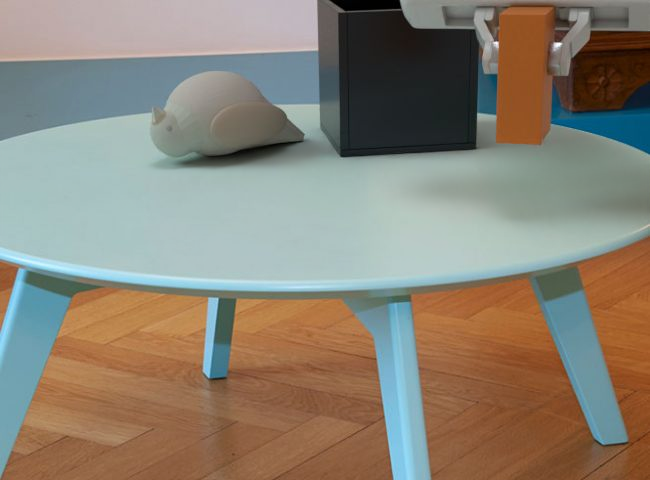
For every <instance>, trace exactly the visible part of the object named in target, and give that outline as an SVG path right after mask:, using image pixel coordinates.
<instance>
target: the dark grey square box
mask: <svg viewBox="0 0 650 480" xmlns="http://www.w3.org/2000/svg"><path fill="white" fill-rule="evenodd" d="M316 9H317V13H316V14H317V48H318V49H317V50H318V51H317V52H318V55H317V56H318V57H317V58H318V94H319V95H318V96H319V128H320V129H321V131H322V132H323V134H324V135H325V136H326V137H327V140H329V142H330V143H331V145H332V147H333V148H334V149H335V151H336V152H337V153H338V155H339V156H340V157H342V158H343V157H359V156H361V157H362V156H375V155H376V156H377V155H378V156H379V155H390V154H391V155H393V154H396V155H397V154H410V153H411V154H412V153H428V152H446V151H463V150H476V149H477V139H478V138H477V137H478V136H477V135H478V133H477V132H478V105H479V104H478V103H479V102H478V99H479V70H480V69H479V68H480V67H479V65H480V43H479V41H478V39H477V35H476V30H475V29H421V28H414V27H412V26H411V24H410V23H409V22H408V20H407V19H406V18H405V16H404V13H403V11H402V7H401V3H400V0H316Z"/></svg>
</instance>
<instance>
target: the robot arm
mask: <svg viewBox="0 0 650 480" xmlns="http://www.w3.org/2000/svg"><path fill="white" fill-rule="evenodd" d="M400 3H401V7H402V11H403V13H404V16H405V18H406V19H407V20H408V22H409V23H410V24H411V26H412V27H414V28H421V29H475V30H476V35H477V39H478V41H479V46H480V47H481V49H482V50H483V52H482V58H481V65H482V70H483V74H484V75H498V43H499V41H495V38H496V37H497V33H498V30H499V14H501V13H502V12H503V11H505V10H506V9H508V8H509V7H556V16H555V31H568V32H567V33H566V34H565V36H564V37H563V38H562V39H561V41H560V42H559V41H558V42H557V41H556V42H555V41H554V42H550V44H549V54H548V57H547V69H548V75H553V77H554V76H557V77H563V76H564V77H568V76H569V74H570V67H571V60H572V58H574V57H575V56H576V55H577V54H578V53H579V52H580V51H581V50H582V48H583V47H584V46H585V45H586V44H587V43H588V42H589V41H590V37H591V31H598V32H599V31H601V32H602V31H607V32H609V31H611V32H650V0H400Z"/></svg>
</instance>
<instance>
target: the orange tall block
mask: <svg viewBox="0 0 650 480" xmlns="http://www.w3.org/2000/svg"><path fill="white" fill-rule="evenodd" d="M555 16H556V7H509V8H508V9H506V10H505V11H503V12H502V13H501V14H499V29H498V42H499V43H498V74H497V83H496V85H497V86H496V114H495V115H496V117H495V121H496V123H495V144H504V145H505V144H506V145H507V144H508V145H531V146H532V145H533V146H541V145H542V143H543V141H544V140H545V139H546V137H547V135H548V134H549V132H550V131H551V126H552V125H551V123H552V101H553V80H554V76H553V75H548V69H547V57H548V54H549V44H550V42H555V38H556V37H555V35H556V30H555Z"/></svg>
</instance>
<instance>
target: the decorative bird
mask: <svg viewBox="0 0 650 480" xmlns="http://www.w3.org/2000/svg"><path fill="white" fill-rule="evenodd" d="M149 135H150V139H151V141H152V143H153V145H154V146H155V148H156V149H157V150H158V151H159V152H161V153H162V154H163V155H166V156H168V157H172V158H182V157H185V156H187V155H188V154H191V153H195V154H199V155H202V156H209V157H210V156H212V157H213V156H225V155H229V154H232V153H233V154H234V153H236V152H238V151H241V150H247V149H252V148H253V149H254V148H259V147H263V146H271V145H275V144H281V143H293V142H302V141H304V138H305V135H306V134H305V133H304V132H303V131H302V130H301V129H300V128H299V127H297V125H296V124H295V123H293V122H292V121H291V120H290V119H289V118H288V115H287V113H286V112H285V111H284V110H283V109H282V108H281V107H279V106H277V105H274V104H273V103H272V102H271V101H269V100H268V99H267V98H266V97H265V96H264V95H263V93H262V91H261V90H260V88H258V86H257V85H255V83H253V82H252V81H251V80H249V79H248V78H247V77H244V76H242V75H240V74H238V73H235V72H231V71H227V70H226V71H225V70H211V71H210V70H209V71H203V72H200V73H197V74H194V75H192V76H189V77H188V78H186V79H185V80H183V81H182V82H180V83H179V84H178V85H177V86H176V87H175V88H174V89H173V90H172V92H171V93H170V95H169V97H168V99H167V101H166V103H165V106H164V107H163V109H162V108H159V107H158V106H155V105H151V122H150V125H149Z"/></svg>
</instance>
